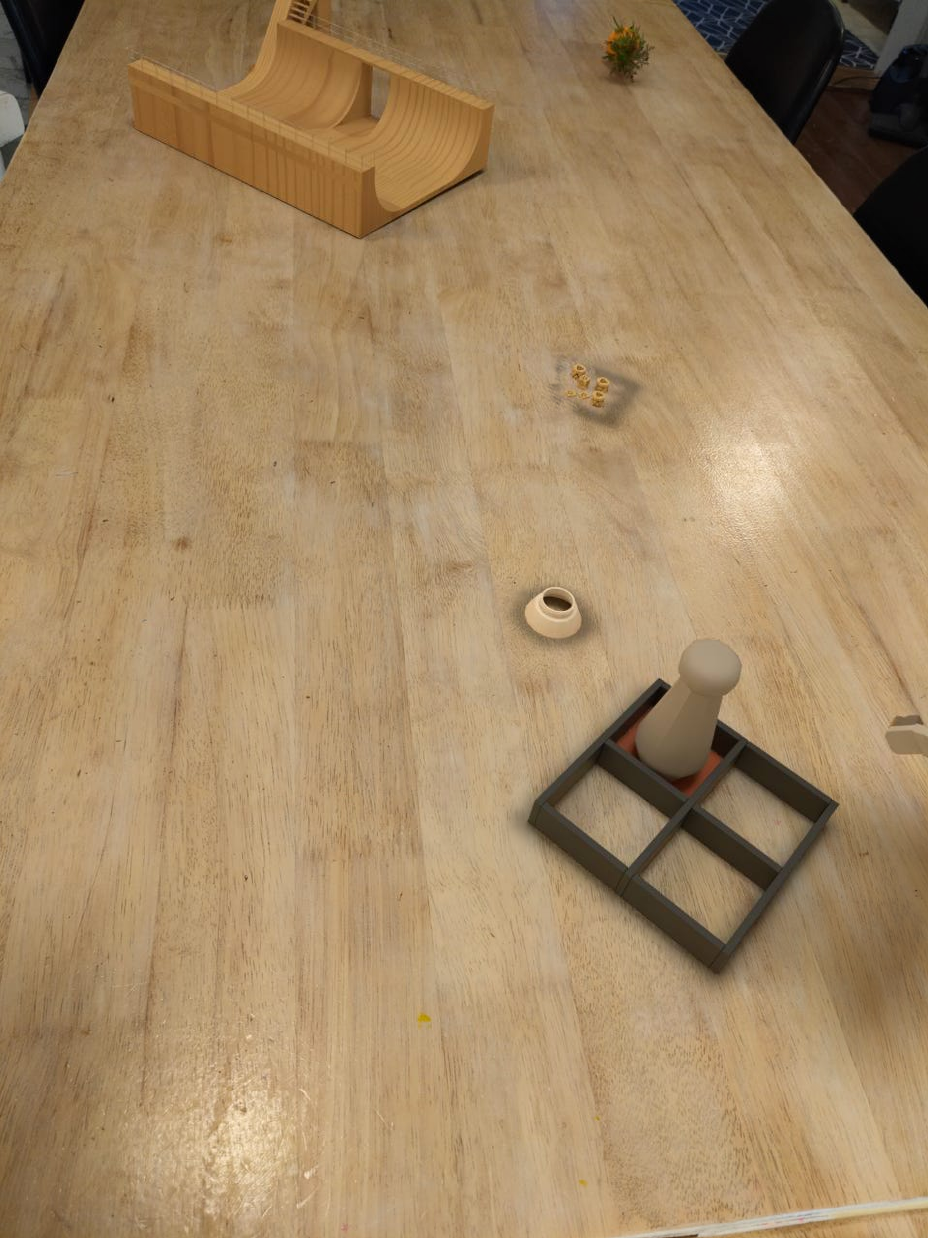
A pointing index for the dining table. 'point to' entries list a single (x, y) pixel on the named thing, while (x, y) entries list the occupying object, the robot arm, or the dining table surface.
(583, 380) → the golden ring cluster
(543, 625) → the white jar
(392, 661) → the dining table surface
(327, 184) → the skate ramp
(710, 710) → the beige game pawn
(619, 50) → the christmas decoration
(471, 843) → the dining table surface
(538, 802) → the grid
